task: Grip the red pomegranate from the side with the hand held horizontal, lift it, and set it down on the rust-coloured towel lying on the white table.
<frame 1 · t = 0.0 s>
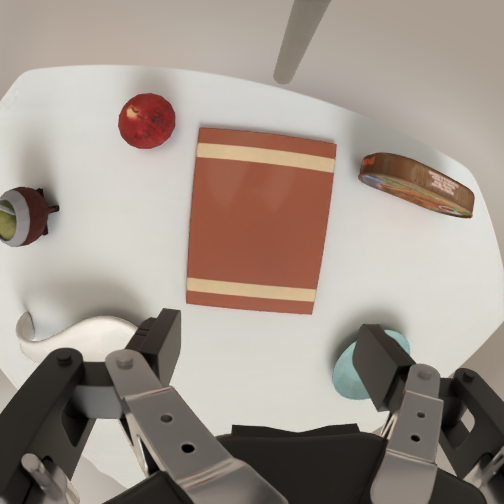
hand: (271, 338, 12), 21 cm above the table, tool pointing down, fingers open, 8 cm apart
spoon rest: (87, 337, 35), on the table
red pomegranate: (157, 127, 29), on the table
saucer: (367, 358, 37), on the table
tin: (402, 185, 31), on the table
mate gourd: (44, 207, 31), on the table
towel: (259, 224, 32), on the table
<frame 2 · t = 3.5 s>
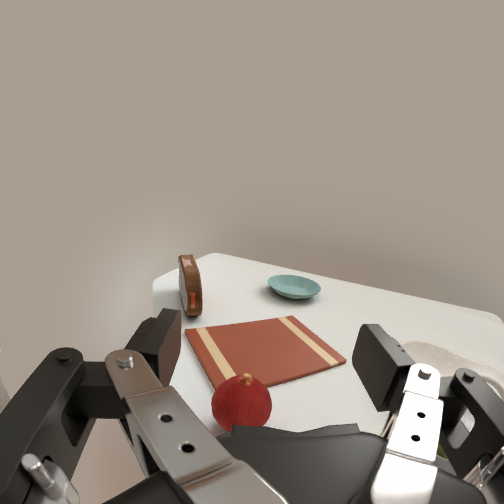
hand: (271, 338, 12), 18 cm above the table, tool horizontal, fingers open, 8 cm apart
spoon rest: (444, 397, 31), on the table
red pomegranate: (237, 428, 26), on the table
saucer: (292, 294, 64), on the table
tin: (187, 305, 53), on the table
mate gourd: (402, 490, 17), on the table
towel: (264, 350, 41), on the table
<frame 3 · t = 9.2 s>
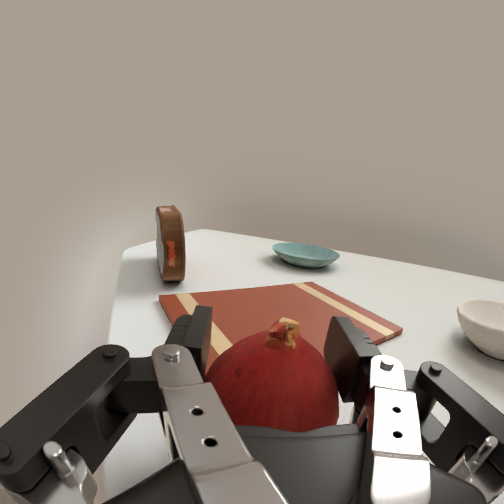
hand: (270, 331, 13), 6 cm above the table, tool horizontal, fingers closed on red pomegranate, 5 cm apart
red pomegranate: (256, 457, 12), on the table, touching gripper
saucer: (304, 263, 50), on the table
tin: (166, 272, 38), on the table
towel: (281, 321, 27), on the table
when the fingers open (7 cm above the table, at t = 17.1 s): red pomegranate stays where it is, resting on towel.
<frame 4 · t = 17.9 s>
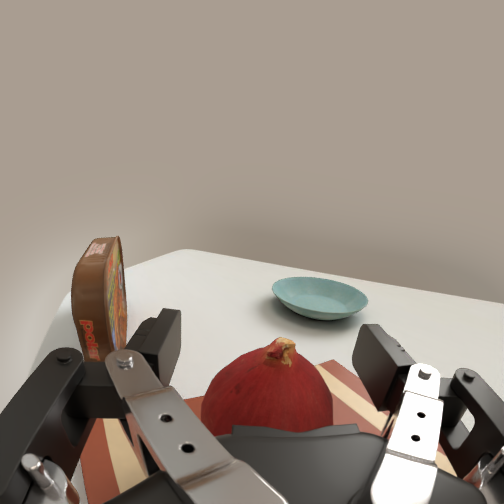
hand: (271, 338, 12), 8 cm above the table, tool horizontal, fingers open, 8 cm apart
red pomegranate: (256, 462, 12), resting on towel
saucer: (317, 310, 35), on the table
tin: (109, 341, 22), on the table
towel: (285, 476, 12), on the table
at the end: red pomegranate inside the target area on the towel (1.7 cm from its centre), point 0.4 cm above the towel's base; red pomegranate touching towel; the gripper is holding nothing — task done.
